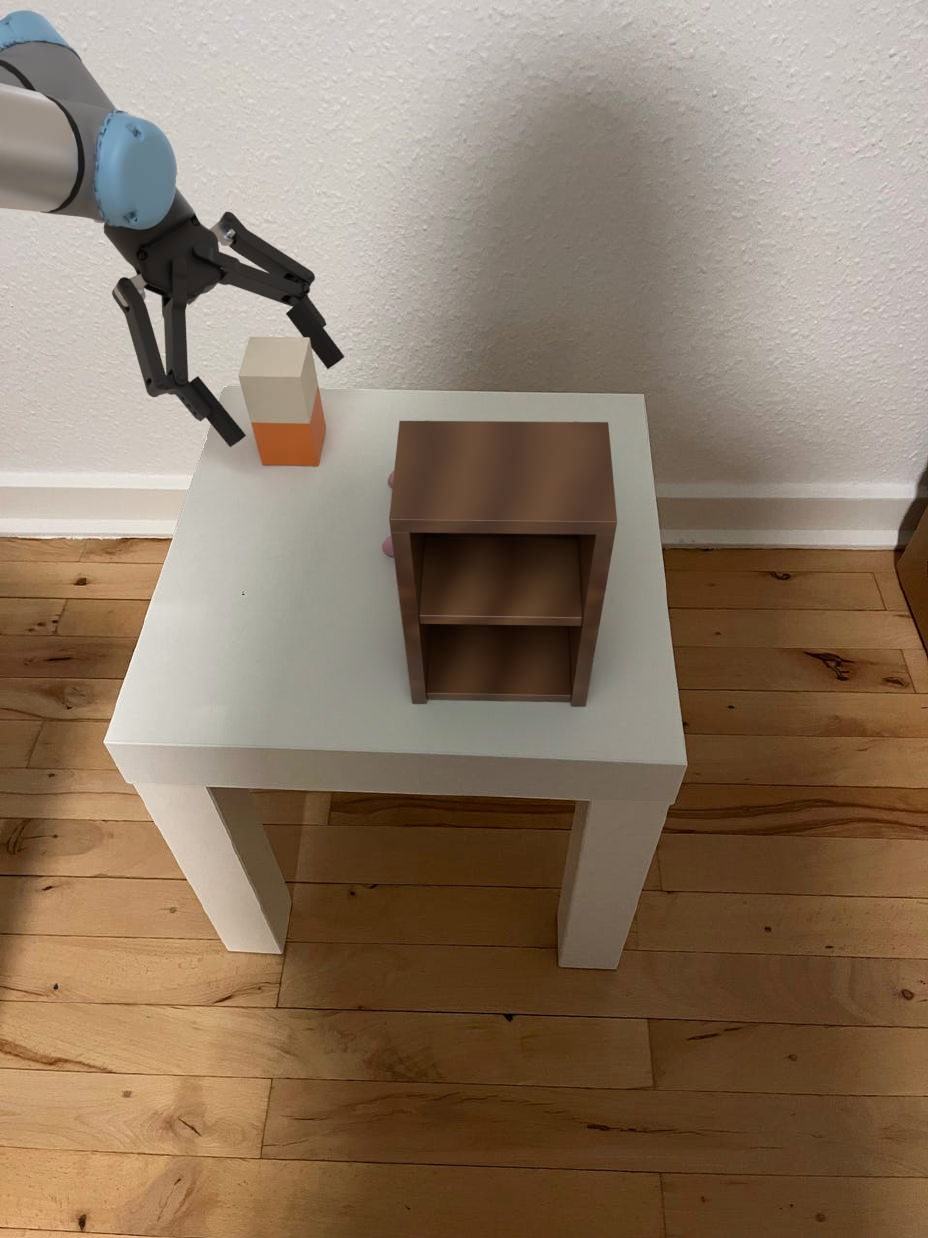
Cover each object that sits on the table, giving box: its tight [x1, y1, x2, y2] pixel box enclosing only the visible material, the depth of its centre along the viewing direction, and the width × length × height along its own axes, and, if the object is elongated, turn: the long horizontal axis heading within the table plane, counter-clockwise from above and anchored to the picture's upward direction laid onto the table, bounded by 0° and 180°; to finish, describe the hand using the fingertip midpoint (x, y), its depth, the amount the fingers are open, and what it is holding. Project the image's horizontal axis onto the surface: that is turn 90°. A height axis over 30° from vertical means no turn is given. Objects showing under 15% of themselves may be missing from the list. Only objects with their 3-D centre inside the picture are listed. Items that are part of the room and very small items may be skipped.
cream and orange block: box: [238, 336, 327, 467], centre depth 88 cm, size 6×6×11 cm
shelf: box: [388, 420, 618, 708], centre depth 68 cm, size 14×9×22 cm, turn 88°
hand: (289, 401), depth 88 cm, fingers open, 13 cm apart
